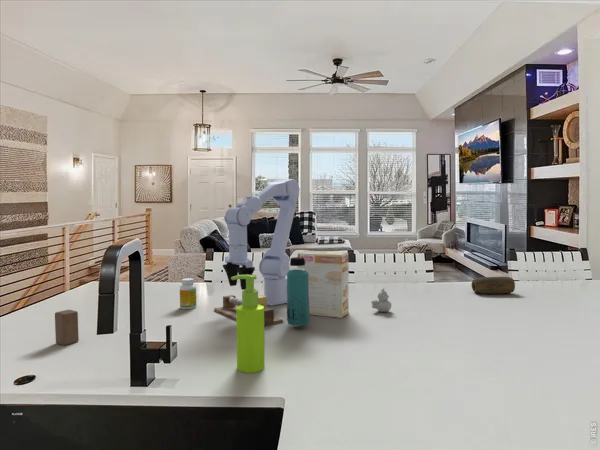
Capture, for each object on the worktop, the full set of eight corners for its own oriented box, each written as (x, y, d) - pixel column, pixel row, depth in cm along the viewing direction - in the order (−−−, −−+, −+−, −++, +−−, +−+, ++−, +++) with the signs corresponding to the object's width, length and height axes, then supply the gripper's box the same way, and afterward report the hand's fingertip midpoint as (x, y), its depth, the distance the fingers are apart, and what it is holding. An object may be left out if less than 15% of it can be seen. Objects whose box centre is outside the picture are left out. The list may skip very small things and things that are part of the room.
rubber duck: (394, 313, 138) (394, 288, 137) (374, 314, 137) (374, 289, 136) (388, 309, 143) (388, 285, 143) (368, 310, 142) (368, 285, 142)
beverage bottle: (312, 325, 124) (312, 256, 123) (305, 332, 118) (305, 259, 117) (291, 323, 126) (290, 255, 125) (283, 330, 120) (282, 258, 119)
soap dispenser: (233, 363, 96) (231, 273, 95) (264, 362, 96) (263, 272, 95) (231, 373, 90) (229, 277, 89) (264, 372, 90) (263, 277, 89)
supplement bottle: (192, 309, 143) (191, 280, 143) (177, 309, 145) (176, 280, 144) (199, 306, 149) (198, 278, 148) (184, 305, 150) (184, 277, 149)
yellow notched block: (245, 316, 130) (244, 297, 130) (262, 313, 134) (261, 295, 133) (250, 318, 128) (249, 299, 127) (267, 315, 131) (267, 296, 131)
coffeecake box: (349, 313, 138) (349, 252, 137) (341, 318, 132) (341, 254, 131) (306, 308, 145) (306, 250, 144) (297, 313, 138) (296, 252, 137)
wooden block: (63, 346, 108) (62, 314, 107) (55, 343, 110) (53, 312, 109) (79, 341, 111) (78, 310, 111) (70, 339, 113) (69, 309, 113)
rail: (214, 310, 142) (214, 297, 142) (241, 306, 148) (240, 293, 148) (253, 328, 122) (253, 312, 122) (282, 322, 128) (282, 307, 128)
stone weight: (506, 291, 170) (507, 274, 170) (516, 295, 163) (516, 277, 163) (469, 292, 170) (469, 275, 169) (477, 296, 163) (477, 278, 162)
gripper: (216, 244, 141) (217, 285, 142) (238, 247, 130) (238, 292, 131) (235, 242, 146) (236, 282, 146) (258, 246, 134) (258, 289, 135)
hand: (238, 287), depth 139 cm, fingers open, 7 cm apart
